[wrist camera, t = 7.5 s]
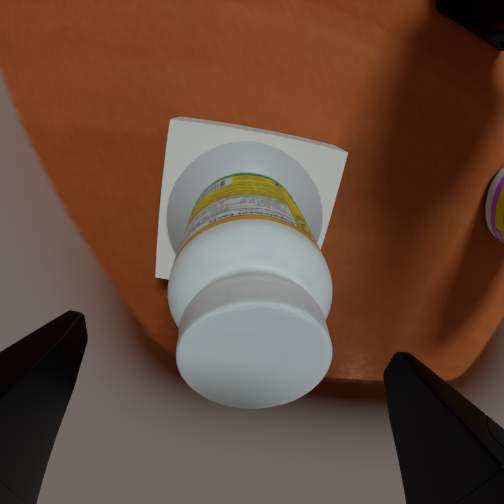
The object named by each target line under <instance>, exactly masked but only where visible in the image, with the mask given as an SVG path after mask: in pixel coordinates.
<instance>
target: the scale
mask: <svg viewBox="0 0 504 504" xmlns="http://www.w3.org/2000/svg"><path fill="white" fill-rule="evenodd" d="M347 155H348V152H346V151H344V150H342V149H341V148H339V147H337V146H335V145H331V144H327V143H323V142H319V141H315V140H311V139H306V138H302V137H298V136H293V135H288V134H284V133H279V132H274V131H269V130H264V129H258V128H253V127H247V126H242V125H236V124H230V123H223V122H217V121H210V120H203V119H195V118H187V117H177V118H173V119H170V124H169V131H168V139H167V146H166V154H165V162H164V171H163V180H162V190H161V200H160V212H159V225H158V239H157V256H156V278H162V279H168V280H169V277H170V272H171V269H172V266H173V263H174V260H175V257H176V254H177V251H178V248H179V246H180V243H181V240H182V238H183V235H184V232H185V230H186V227H187V224H188V221H189V218H190V215H191V212H192V210H193V207H194V205H195V203H196V201H197V199H198V197H199V196H200V194H201V193H202V192H203V190H204V189H205V188H206V187H207V186H208V185H209V184H211V183H212V182H213V181H215V180H216V179H218V178H220V177H222V176H224V175H227V174H230V173H234V172H240V171H251V172H258V173H262V174H265V175H268V176H270V177H272V178H274V179H276V180H277V181H279V182H280V183H281V184H282V185H283V186H284V187H285V188H286V189H287V191H288V192H289V193H290V195H291V196H292V198H293V199H294V201H295V202H296V204H297V206H298V208H299V210H300V212H301V214H302V215H303V217H304V219H305V221H306V223H307V225H308V226H309V228H310V230H311V232H312V234H313V236H314V238H315V240H316V242H317V244H318V246H319V248H320V250H321V247H322V244H323V240H324V237H325V234H326V230H327V227H328V224H329V220H330V217H331V213H332V210H333V206H334V203H335V199H336V196H337V192H338V189H339V185H340V181H341V178H342V174H343V170H344V166H345V163H346V159H347Z"/></svg>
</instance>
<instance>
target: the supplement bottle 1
mask: <svg viewBox="0 0 504 504" xmlns="http://www.w3.org/2000/svg"><path fill="white" fill-rule="evenodd" d="M168 302H169V307H170V311H171V314H172V317H173V319H174V321H175V323H176V325H177V327H178V328H179V335H178V341H177V346H176V362H177V366H178V370H179V372H180V374H181V376H182V378H183V379H184V380H185V382H186V383H187V384H188V385H189V386H190V387H191V388H192V389H193V390H194V391H196V392H197V393H198V394H200V395H201V396H203V397H205V398H206V399H208V400H211V401H213V402H216V403H219V404H222V405H225V406H229V407H235V408H243V409H260V408H268V407H274V406H278V405H282V404H285V403H288V402H291V401H294V400H296V399H298V398H300V397H301V396H303V395H305V394H306V393H308V392H309V391H311V390H312V389H313V388H314V387H315V386H316V385H317V384H318V383H319V382H320V381H321V380H322V379H323V378H324V376H325V375H326V373H327V371H328V369H329V367H330V364H331V360H332V353H333V350H332V343H331V339H330V335H329V331H328V328H327V325H326V321H325V320H326V318H327V316H328V313H329V310H330V306H331V302H332V279H331V275H330V271H329V269H328V266H327V263H326V261H325V259H324V257H323V254H322V252H321V250H320V248H319V246H318V244H317V242H316V240H315V238H314V236H313V234H312V232H311V230H310V228H309V226H308V225H307V223H306V221H305V219H304V217H303V215H302V214H301V212H300V210H299V208H298V206H297V204H296V202H295V201H294V199H293V198H292V196H291V195H290V193H289V192H288V191H287V189H286V188H285V187H284V186H283V185H282V184H281V183H280V182H279V181H277V180H276V179H274V178H272V177H270V176H268V175H265V174H262V173H258V172H251V171H240V172H234V173H230V174H227V175H224V176H222V177H220V178H218V179H216V180H215V181H213V182H212V183H211V184H209V185H208V186H207V187H206V188H205V189H204V190H203V192H202V193H201V194H200V196H199V197H198V199H197V201H196V203H195V205H194V207H193V210H192V212H191V215H190V218H189V221H188V224H187V227H186V230H185V232H184V235H183V238H182V240H181V243H180V246H179V248H178V251H177V254H176V257H175V260H174V263H173V266H172V269H171V272H170V277H169V281H168Z"/></svg>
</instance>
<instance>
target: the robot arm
mask: <svg viewBox="0 0 504 504" xmlns="http://www.w3.org/2000/svg"><path fill="white" fill-rule="evenodd" d="M442 5H444V7H445V9H444V8H443V6H442ZM436 7H437V9H438V11H439V12H440V13H442V14H444V15H445V16H447V17H449V18H450V19H452V20H454V21H456V22H457V23H459V24H460V25H462V26H464V27H465V28H467V29H468V30H470V31H472V32H473V33H475V34H476V35H478V36H479V37H481V38H482V39H483V40H485V41H486V42H488V43H489V44H491V45H492V46H493V47H495V48H496V49H497V50H499V51H504V0H437V2H436ZM500 44H501V45H500ZM87 336H88V335H87V329H86V323H85V317H84V315H83V314H82V313H80V312H76V311H72V310H70V311H68V312H66V313H64V314H62V315H61V316H59V317H57V318H55V319H54V320H52V321H50V322H49V323H47V324H46V325H44V326H42V327H41V328H39V329H37V330H36V331H34V332H32V333H30V334H29V335H27V336H25V337H24V338H22V339H20V340H19V341H17V342H15V343H14V344H12V345H11V346H9V347H7V348H6V349H4V350H3V351H1V352H0V504H36V503H37V499H38V495H39V491H40V488H41V484H42V481H43V477H44V474H45V470H46V467H47V464H48V461H49V457H50V454H51V451H52V448H53V445H54V442H55V439H56V436H57V433H58V430H59V427H60V425H61V422H62V419H63V416H64V414H65V411H66V408H67V405H68V403H69V400H70V397H71V395H72V392H73V390H74V387H75V383H76V380H77V376H78V372H79V369H80V365H81V362H82V358H83V355H84V351H85V348H86V344H87V339H88V337H87ZM384 384H385V390H386V398H387V404H388V413H389V419H390V423H391V428H392V432H393V437H394V441H395V446H396V451H397V456H398V460H399V465H400V471H401V476H402V481H403V486H404V493H405V498H406V504H504V429H503V428H502V427H501V426H499V425H498V424H497V423H495V422H494V421H493V420H492V419H491V418H489V417H488V416H487V415H485V414H484V413H483V412H482V411H481V410H480V409H478V408H477V407H476V406H475V405H474V404H472V403H471V402H470V401H469V400H467V399H466V398H465V397H464V396H462V395H461V394H460V393H459V392H458V391H456V390H455V389H454V388H453V387H451V386H450V385H449V384H448V383H446V382H445V381H444V380H443V379H441V378H440V377H439V376H438V375H436V374H435V373H434V372H433V371H431V370H430V369H429V368H428V367H426V366H425V365H424V364H423V363H421V362H420V361H419V360H418V359H416V358H415V357H414V356H413V355H411V354H410V353H408V352H397V353H395V354H394V356H393V357H392V359H391V361H390V362H389V364H388V366H387V367H386V369H385V371H384Z"/></svg>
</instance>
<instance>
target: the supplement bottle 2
mask: <svg viewBox="0 0 504 504" xmlns="http://www.w3.org/2000/svg"><path fill="white" fill-rule="evenodd" d="M485 217H486V222H487V225H488V228H489V230H490V232H491V233H492V234H493V235H494V236H495V237H496V238H497V239H498V240H500V241H501V242H502V243H503V244H504V167H503V168H502V169H501V170H500V171H499V172H498V173H497V174H496V176H495V177H494V179H493V181H492V183H491V185H490V187H489V190H488V194H487V198H486V205H485Z"/></svg>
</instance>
